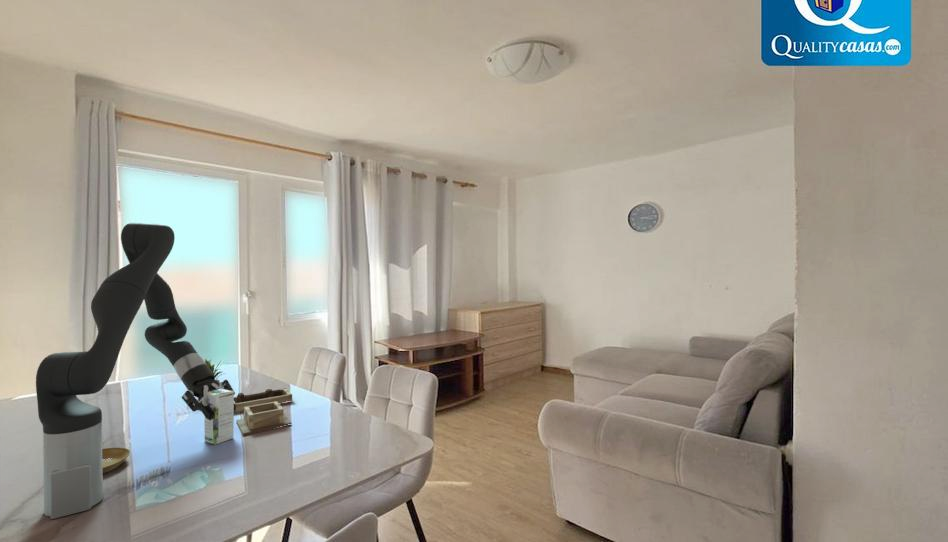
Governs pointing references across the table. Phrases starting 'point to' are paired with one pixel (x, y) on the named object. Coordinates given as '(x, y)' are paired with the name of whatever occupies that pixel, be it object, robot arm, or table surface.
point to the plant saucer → (113, 457)
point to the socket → (262, 418)
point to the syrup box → (220, 416)
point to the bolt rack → (263, 400)
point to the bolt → (258, 395)
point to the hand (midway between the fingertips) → (223, 414)
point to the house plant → (213, 369)
